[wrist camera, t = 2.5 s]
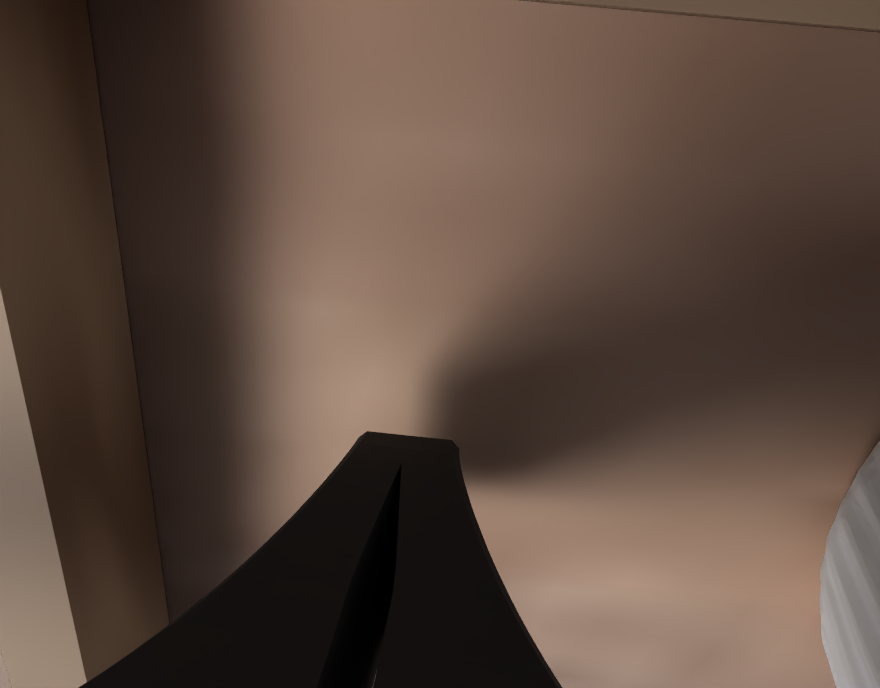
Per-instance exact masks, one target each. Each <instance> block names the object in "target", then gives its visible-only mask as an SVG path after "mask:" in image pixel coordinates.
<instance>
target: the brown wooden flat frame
mask: <svg viewBox="0 0 880 688" xmlns="http://www.w3.org/2000/svg"><path fill="white" fill-rule="evenodd" d="M521 1H532V2H544V3H555V4H566V5H577V6H589V7H600V8H611V9H622V10H634V11H645V12H656V13H668V14H679V15H690V16H701V17H713V18H724V19H735V20H746V21H758V22H769V23H780V24H791V25H803V26H814V27H825V28H837V29H848V30H859V31H870V32H880V0H521ZM168 625H169V618H168V611H167V603H166V596H165V588H164V580H163V573H162V565H161V558H160V550H159V543H158V535H157V528H156V520H155V513H154V505H153V498H152V490H151V483H150V475H149V468H148V460H147V453H146V445H145V438H144V430H143V423H142V415H141V408H140V400H139V393H138V385H137V378H136V370H135V363H134V355H133V348H132V340H131V332H130V325H129V317H128V310H127V302H126V295H125V287H124V280H123V272H122V265H121V257H120V250H119V242H118V235H117V227H116V220H115V212H114V205H113V197H112V190H111V182H110V175H109V167H108V160H107V152H106V145H105V137H104V130H103V122H102V115H101V107H100V100H99V92H98V84H97V77H96V69H95V62H94V54H93V47H92V39H91V32H90V24H89V17H88V9H87V2H86V0H0V651H1V655H2V658H3V662H4V665H5V668H6V672H7V675H8V679H9V682H10V686H11V688H78V687H80V686H81V685H83V684H85V683H86V682H88V681H90V680H91V679H93V678H94V677H96V676H97V675H99V674H100V673H102V672H103V671H105V670H106V669H108V668H109V667H111V666H112V665H114V664H115V663H116V662H118V661H119V660H121V659H122V658H124V657H125V656H127V655H128V654H130V653H131V652H132V651H134V650H135V649H136V648H138V647H139V646H141V645H142V644H143V643H145V642H146V641H147V640H149V639H150V638H151V637H153V636H154V635H156V634H157V633H158V632H160V631H161V630H162V629H164V628H165V627H166V626H168Z"/></svg>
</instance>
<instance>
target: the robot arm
mask: <svg viewBox="0 0 880 688" xmlns="http://www.w3.org/2000/svg"><path fill="white" fill-rule="evenodd" d="M376 671H377V672H376ZM375 675H376V677H375ZM374 679H375V681H374ZM373 683H374V686H373ZM372 686H373V688H562V687H561V685H560V683H559V682H558V680H557V679H556V677H555V676H554V674H553V672H552V671H551V669H550V668H549V666H548V665H547V663H546V661H545V660H544V658H543V656H542V654H541V653H540V651H539V649H538V648H537V646H536V644H535V642H534V641H533V639H532V637H531V636H530V634H529V632H528V630H527V629H526V627H525V625H524V623H523V621H522V619H521V617H520V616H519V614H518V612H517V610H516V608H515V606H514V604H513V602H512V600H511V598H510V596H509V594H508V592H507V590H506V588H505V586H504V584H503V582H502V580H501V577H500V575H499V573H498V571H497V569H496V567H495V564H494V562H493V560H492V558H491V555H490V553H489V551H488V548H487V546H486V543H485V541H484V538H483V536H482V533H481V530H480V528H479V525H478V523H477V520H476V518H475V515H474V512H473V509H472V506H471V503H470V500H469V497H468V493H467V490H466V486H465V483H464V479H463V475H462V471H461V466H460V459H459V448H458V447H457V446H456V444H455V443H454V442H453V441H452V440H444V439H435V438H425V437H416V436H406V435H397V434H387V433H378V432H369V431H367V432H366V433H364V434H363V435H362V436H360V437H359V438H358V439H357V441H356V442H355V444H354V445H353V446H352V448H351V449H350V450H349V452H348V453H347V454H346V456H345V457H344V458H343V459H342V461H341V462H340V463H339V464H338V466H337V467H336V468H335V469H334V470H333V472H332V473H331V474H330V475H329V476H328V478H327V479H326V480H325V481H324V482H323V483H322V485H321V486H320V487H319V488H318V489H317V490H316V491H315V492H314V493H313V494H312V496H311V497H310V498H309V499H308V500H307V501H306V502H305V503H304V504H303V505H302V506H301V507H300V509H299V510H298V511H297V512H296V513H295V514H294V515H293V516H292V517H291V518H290V519H289V520H288V521H287V522H286V523H285V524H284V525H283V526H282V527H281V528H280V529H279V530H278V531H277V532H276V533H275V534H274V535H273V536H272V537H271V538H270V539H269V540H268V541H267V542H266V543H265V544H264V545H263V546H262V547H260V548H259V549H258V550H257V551H256V552H255V553H254V554H253V555H252V556H251V557H250V558H249V559H248V560H247V561H246V562H245V563H244V564H242V565H241V566H240V567H239V568H238V569H237V570H236V571H235V572H233V573H232V574H231V575H230V576H229V577H228V578H227V579H225V580H224V581H223V582H222V583H221V584H220V585H218V586H217V587H216V588H215V589H214V590H212V591H211V592H210V593H209V594H208V595H206V596H205V597H204V598H203V599H201V600H200V601H199V602H198V603H196V604H195V605H194V606H193V607H191V608H190V609H189V610H188V611H186V612H185V613H184V614H183V615H181V616H180V617H179V618H177V619H176V620H175V621H173V622H172V623H171V624H169V625H168V626H166V627H165V628H164V629H162V630H161V631H160V632H158V633H157V634H156V635H154V636H153V637H151V638H150V639H149V640H147V641H146V642H145V643H143V644H142V645H141V646H139V647H138V648H136V649H135V650H134V651H132V652H131V653H130V654H128V655H127V656H125V657H124V658H122V659H121V660H119V661H118V662H116V663H115V664H114V665H112V666H111V667H109V668H108V669H106V670H105V671H103V672H102V673H100V674H99V675H97V676H96V677H94V678H93V679H91V680H90V681H88V682H86V683H85V684H83V685H81V686H80V687H78V688H372Z"/></svg>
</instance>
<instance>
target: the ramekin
mask: <svg viewBox="0 0 880 688" xmlns="http://www.w3.org/2000/svg"><path fill="white" fill-rule="evenodd" d="M819 609H820V615H821V636H822V641H823V646H824V649H825V653H826V656H827V659H828V662H829V666H830V669H831V672H832V675H833V678H834V682H835V685H836V688H880V441H879V442H878V443H877V444H876V446H875V447H874V449H873V450H872V452H871V453H870V455H869V456H868V457H867V459H866V460H865V462H864V463H863V465H862V466H861V467H860V468H859V470H858V472H857V475H856V477H855V479H854V480H853V482H852V484H851V486H850V488H849V490H848V492H847V494H846V496H845V497H844V499H843V500H842V501H841V503H840V506H839V509H838V512H837V515H836V518H835V521H834V523H833V525H832V527H831V529H830V531H829V533H828V537H827V542H826V552H825V555H824V559H823V562H822V566H821V590H820V603H819Z"/></svg>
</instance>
